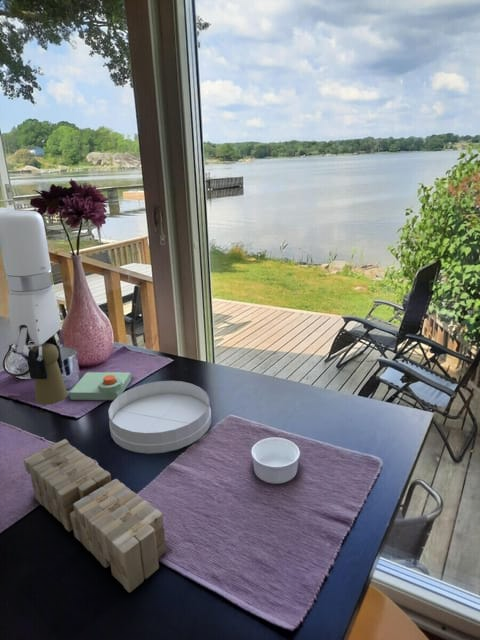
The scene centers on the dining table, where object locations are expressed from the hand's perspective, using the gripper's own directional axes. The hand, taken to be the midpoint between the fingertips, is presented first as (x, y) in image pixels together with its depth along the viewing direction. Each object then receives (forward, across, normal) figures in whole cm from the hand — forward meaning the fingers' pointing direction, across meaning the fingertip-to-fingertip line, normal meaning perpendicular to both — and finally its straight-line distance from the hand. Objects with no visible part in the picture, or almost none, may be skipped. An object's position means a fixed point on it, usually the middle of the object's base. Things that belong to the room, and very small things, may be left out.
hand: (46, 370), depth 86 cm
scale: (+17, -23, +1) cm, 28 cm away
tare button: (+13, -20, +4) cm, 24 cm away
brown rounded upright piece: (+6, 0, 0) cm, 6 cm away
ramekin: (+16, +7, +45) cm, 48 cm away
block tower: (+17, +21, +16) cm, 31 cm away
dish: (+17, -8, +20) cm, 27 cm away
